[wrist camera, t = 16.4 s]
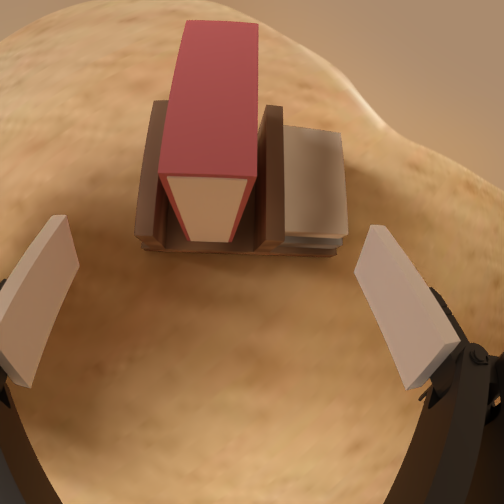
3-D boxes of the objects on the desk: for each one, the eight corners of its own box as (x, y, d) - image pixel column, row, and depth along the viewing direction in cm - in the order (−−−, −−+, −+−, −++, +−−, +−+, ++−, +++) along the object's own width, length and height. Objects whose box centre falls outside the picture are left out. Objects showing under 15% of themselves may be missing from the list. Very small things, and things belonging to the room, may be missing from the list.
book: (187, 241, 24) (157, 174, 10) (194, 143, 25) (186, 20, 11) (231, 243, 24) (256, 178, 11) (235, 145, 26) (258, 23, 12)
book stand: (145, 250, 25) (122, 235, 18) (156, 143, 26) (143, 100, 19) (329, 257, 27) (366, 244, 20) (325, 154, 28) (354, 118, 21)
